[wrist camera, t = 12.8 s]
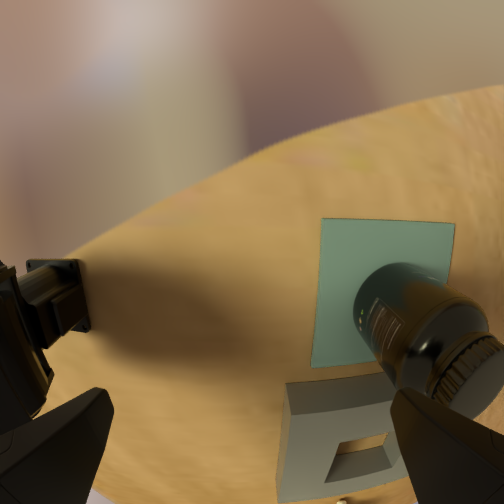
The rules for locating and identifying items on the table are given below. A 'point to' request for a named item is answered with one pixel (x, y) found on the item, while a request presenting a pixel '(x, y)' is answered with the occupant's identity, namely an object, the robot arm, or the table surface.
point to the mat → (360, 267)
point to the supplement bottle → (430, 338)
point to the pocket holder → (336, 438)
